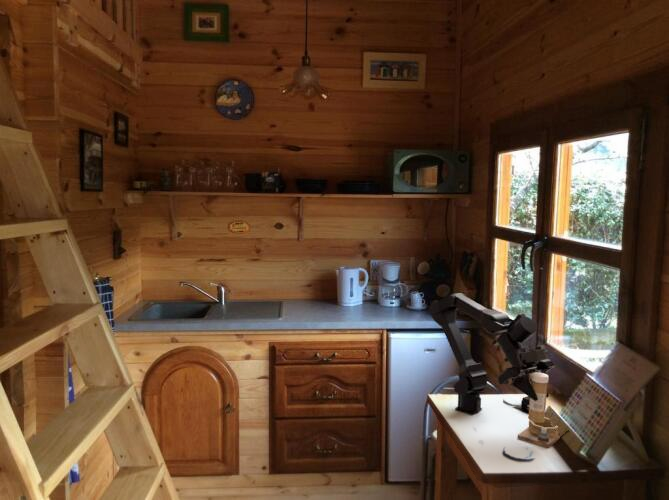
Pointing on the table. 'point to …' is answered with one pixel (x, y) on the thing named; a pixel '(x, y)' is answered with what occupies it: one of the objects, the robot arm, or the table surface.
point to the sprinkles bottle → (540, 389)
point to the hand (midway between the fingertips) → (542, 398)
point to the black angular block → (524, 405)
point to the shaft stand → (540, 433)
